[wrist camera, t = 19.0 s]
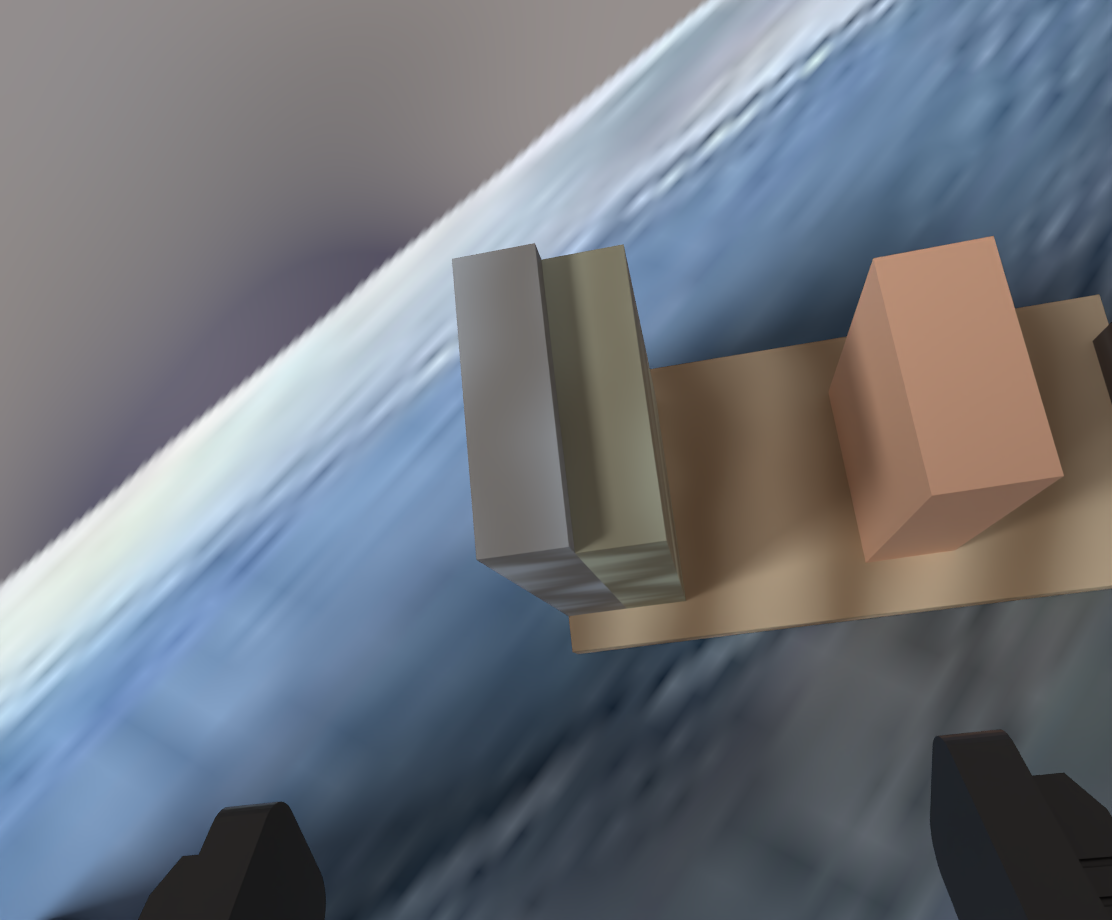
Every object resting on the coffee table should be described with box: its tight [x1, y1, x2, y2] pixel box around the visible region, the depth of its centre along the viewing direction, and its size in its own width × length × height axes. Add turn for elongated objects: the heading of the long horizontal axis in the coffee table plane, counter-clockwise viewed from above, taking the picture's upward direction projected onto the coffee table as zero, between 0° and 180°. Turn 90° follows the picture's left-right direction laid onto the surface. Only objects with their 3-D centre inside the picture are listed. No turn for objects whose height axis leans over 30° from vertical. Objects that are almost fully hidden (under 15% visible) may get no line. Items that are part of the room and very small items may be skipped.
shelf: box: [452, 243, 1112, 654], centre depth 31 cm, size 24×12×16 cm, turn 96°
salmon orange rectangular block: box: [828, 236, 1064, 563], centre depth 31 cm, size 4×8×12 cm, turn 7°
